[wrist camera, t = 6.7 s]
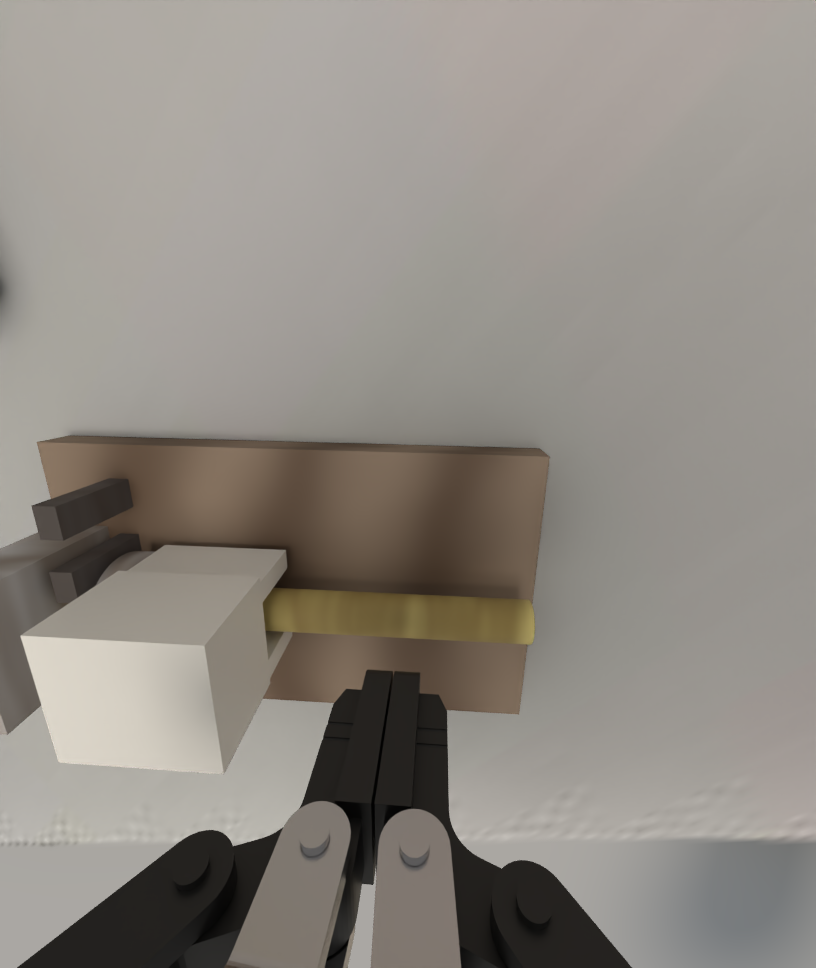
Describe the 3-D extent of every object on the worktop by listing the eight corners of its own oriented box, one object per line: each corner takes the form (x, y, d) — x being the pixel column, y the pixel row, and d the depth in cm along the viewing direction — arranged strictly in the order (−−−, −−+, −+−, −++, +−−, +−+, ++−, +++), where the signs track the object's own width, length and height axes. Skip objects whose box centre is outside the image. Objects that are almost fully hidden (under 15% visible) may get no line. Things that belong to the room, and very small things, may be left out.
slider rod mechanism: (539, 448, 16) (611, 507, 10) (512, 689, 20) (552, 854, 13) (69, 435, 18) (-156, 481, 11) (121, 666, 21) (-26, 808, 14)
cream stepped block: (285, 545, 16) (204, 645, 10) (292, 638, 17) (223, 774, 12) (164, 540, 16) (20, 635, 11) (180, 632, 18) (58, 762, 12)
